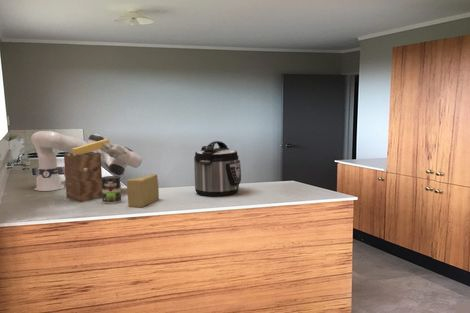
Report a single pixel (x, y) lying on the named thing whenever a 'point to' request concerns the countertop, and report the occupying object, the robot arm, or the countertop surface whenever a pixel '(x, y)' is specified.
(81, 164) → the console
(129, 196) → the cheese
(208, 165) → the pressure cooker
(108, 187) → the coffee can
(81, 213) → the countertop surface
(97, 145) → the lever bar
